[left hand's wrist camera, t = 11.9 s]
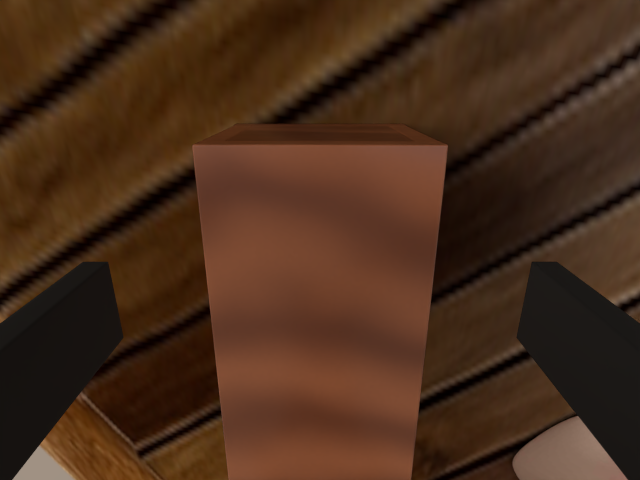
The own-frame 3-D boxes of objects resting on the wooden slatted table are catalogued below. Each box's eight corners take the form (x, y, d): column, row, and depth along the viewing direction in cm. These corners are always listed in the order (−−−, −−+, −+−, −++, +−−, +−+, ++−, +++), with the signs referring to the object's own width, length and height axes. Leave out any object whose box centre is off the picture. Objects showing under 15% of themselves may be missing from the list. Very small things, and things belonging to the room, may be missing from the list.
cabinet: (385, 371, 32) (411, 482, 23) (254, 371, 32) (228, 482, 23) (403, 123, 25) (449, 144, 16) (236, 123, 25) (191, 144, 16)
